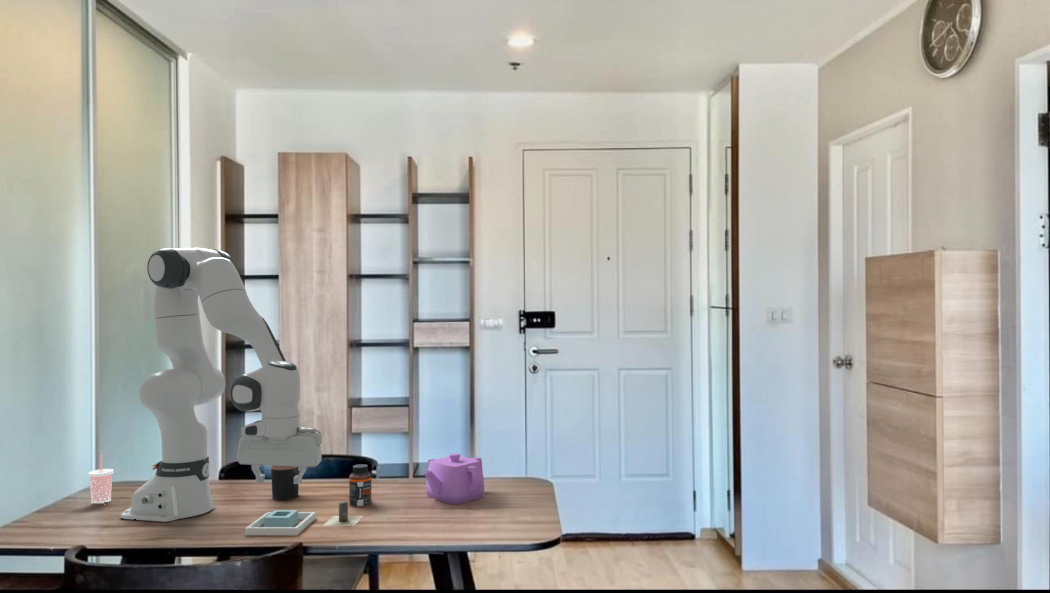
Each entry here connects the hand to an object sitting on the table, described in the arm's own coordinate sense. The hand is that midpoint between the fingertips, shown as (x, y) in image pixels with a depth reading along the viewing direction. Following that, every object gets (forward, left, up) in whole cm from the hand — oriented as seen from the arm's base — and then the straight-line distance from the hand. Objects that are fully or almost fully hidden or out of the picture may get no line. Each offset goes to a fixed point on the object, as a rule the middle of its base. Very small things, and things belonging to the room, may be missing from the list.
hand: (278, 482), depth 167 cm
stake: (+15, +4, -12) cm, 19 cm away
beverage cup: (-61, +23, -12) cm, 67 cm away
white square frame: (+1, 0, -12) cm, 12 cm away
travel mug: (-10, +29, -12) cm, 33 cm away
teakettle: (+39, +29, -12) cm, 50 cm away
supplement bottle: (+15, +19, -12) cm, 27 cm away
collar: (+1, 0, -11) cm, 11 cm away
